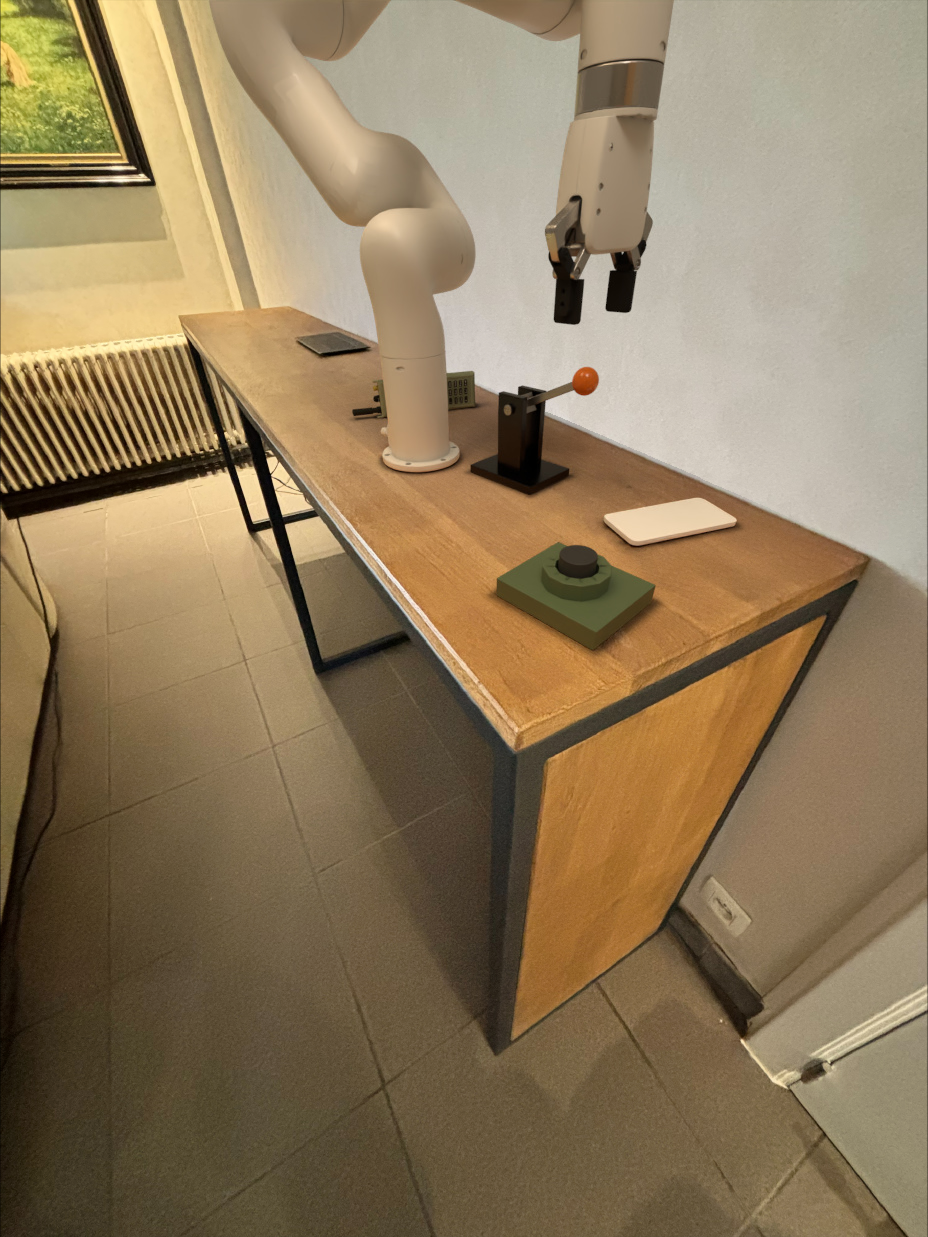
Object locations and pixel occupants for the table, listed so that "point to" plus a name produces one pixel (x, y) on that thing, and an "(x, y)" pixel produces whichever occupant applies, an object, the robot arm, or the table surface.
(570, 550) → the push button
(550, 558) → the button box
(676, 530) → the smartphone
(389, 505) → the table surface
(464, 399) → the handheld radio
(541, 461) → the switch bracket
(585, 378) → the switch lever
